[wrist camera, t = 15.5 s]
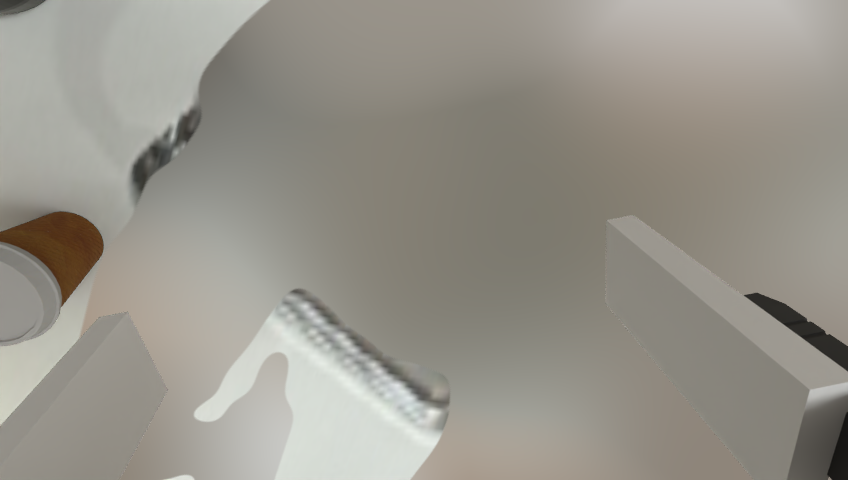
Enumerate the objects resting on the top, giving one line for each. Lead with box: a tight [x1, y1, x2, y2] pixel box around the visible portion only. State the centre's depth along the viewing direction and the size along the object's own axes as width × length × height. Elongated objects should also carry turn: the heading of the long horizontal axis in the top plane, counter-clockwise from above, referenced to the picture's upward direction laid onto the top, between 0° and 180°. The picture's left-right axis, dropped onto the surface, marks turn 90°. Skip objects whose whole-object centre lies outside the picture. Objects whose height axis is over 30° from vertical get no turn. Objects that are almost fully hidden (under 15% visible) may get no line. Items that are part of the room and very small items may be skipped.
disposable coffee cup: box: [0, 212, 103, 346], centre depth 43 cm, size 10×10×12 cm
